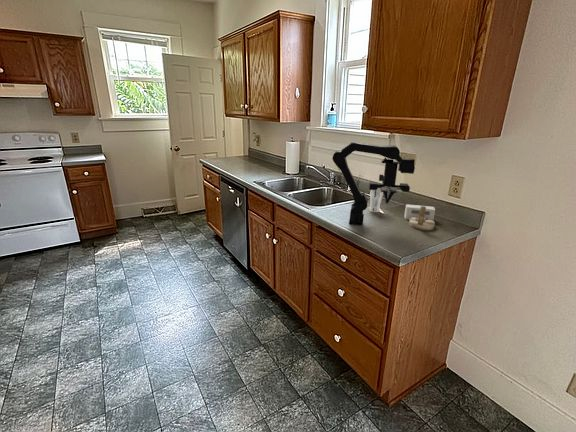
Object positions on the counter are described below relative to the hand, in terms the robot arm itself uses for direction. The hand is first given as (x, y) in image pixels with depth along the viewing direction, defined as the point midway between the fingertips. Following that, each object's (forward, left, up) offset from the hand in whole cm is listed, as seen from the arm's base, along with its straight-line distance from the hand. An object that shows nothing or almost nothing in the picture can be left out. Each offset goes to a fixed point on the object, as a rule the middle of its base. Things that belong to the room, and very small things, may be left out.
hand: (386, 203), depth 156 cm
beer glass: (-4, +22, -12) cm, 25 cm away
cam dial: (+19, +5, -12) cm, 23 cm away
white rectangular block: (+19, +15, -12) cm, 27 cm away
